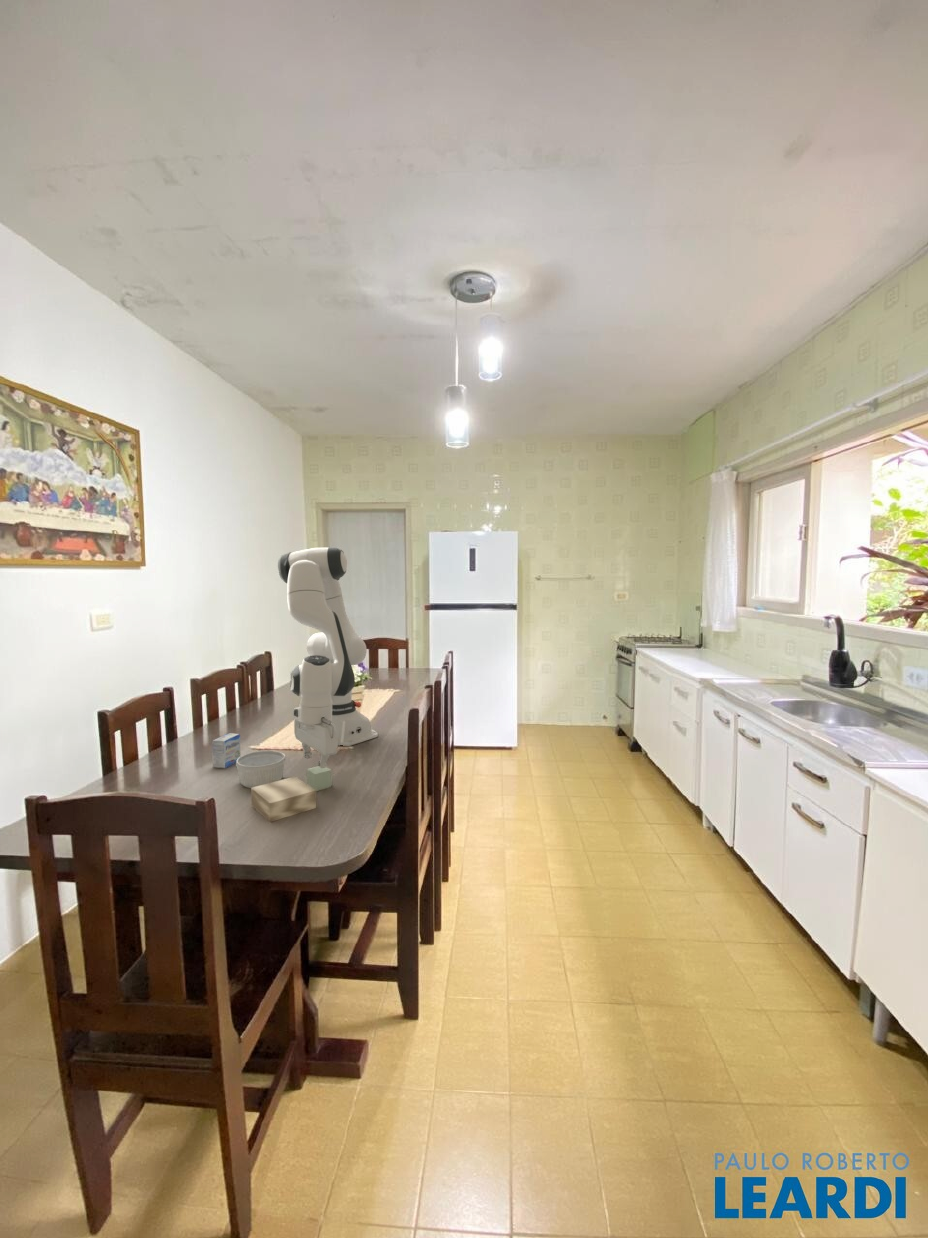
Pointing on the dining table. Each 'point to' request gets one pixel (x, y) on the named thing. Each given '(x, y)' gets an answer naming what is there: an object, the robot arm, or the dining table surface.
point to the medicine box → (225, 750)
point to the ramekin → (260, 767)
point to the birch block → (283, 798)
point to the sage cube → (319, 778)
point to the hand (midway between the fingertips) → (315, 762)
